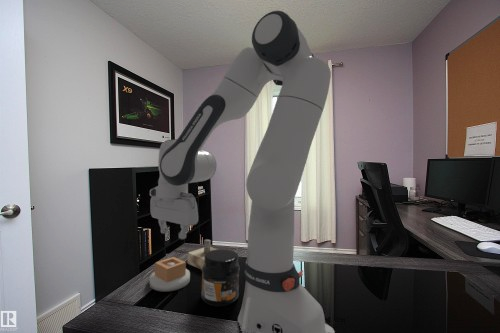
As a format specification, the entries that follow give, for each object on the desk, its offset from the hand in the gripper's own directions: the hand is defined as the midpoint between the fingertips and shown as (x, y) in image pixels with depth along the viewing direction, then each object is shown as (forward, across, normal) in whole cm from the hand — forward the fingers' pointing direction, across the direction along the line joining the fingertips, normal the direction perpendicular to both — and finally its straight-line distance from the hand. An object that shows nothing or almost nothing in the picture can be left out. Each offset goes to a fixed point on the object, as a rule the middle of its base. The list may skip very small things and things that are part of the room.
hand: (173, 235), depth 74 cm
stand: (+15, +3, -17) cm, 22 cm away
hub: (+14, +1, 0) cm, 15 cm away
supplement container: (+15, -17, -4) cm, 23 cm away
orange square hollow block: (+12, +1, 0) cm, 13 cm away
